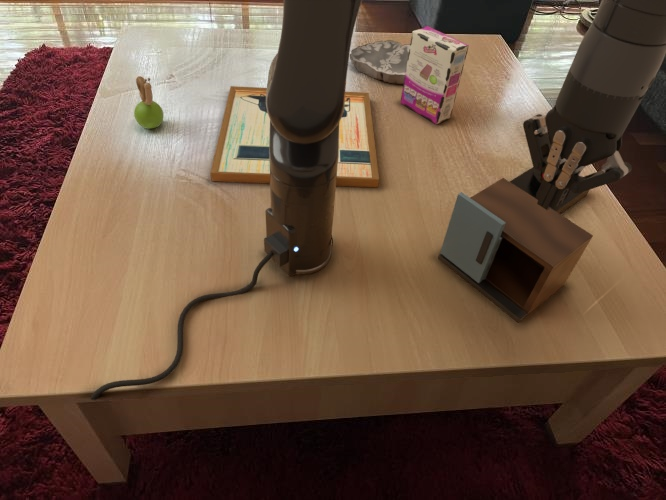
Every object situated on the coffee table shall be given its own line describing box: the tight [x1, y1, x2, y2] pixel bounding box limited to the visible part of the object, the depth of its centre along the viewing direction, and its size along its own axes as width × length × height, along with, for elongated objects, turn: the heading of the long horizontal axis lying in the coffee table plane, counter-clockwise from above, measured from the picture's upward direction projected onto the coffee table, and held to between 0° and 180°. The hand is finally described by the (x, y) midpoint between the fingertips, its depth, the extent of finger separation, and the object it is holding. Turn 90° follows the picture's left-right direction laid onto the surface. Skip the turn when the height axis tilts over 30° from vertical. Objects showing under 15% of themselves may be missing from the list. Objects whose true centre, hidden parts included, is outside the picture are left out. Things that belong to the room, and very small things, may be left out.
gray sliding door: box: [439, 191, 506, 283], centre depth 78 cm, size 1×8×12 cm, turn 40°
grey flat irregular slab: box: [349, 39, 410, 85], centre depth 127 cm, size 20×17×3 cm
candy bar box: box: [399, 25, 470, 125], centre depth 110 cm, size 11×5×16 cm, turn 42°
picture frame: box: [209, 85, 380, 188], centre depth 105 cm, size 30×2×30 cm
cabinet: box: [437, 177, 594, 323], centre depth 80 cm, size 12×16×11 cm
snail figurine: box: [133, 75, 164, 130], centre depth 101 cm, size 5×6×12 cm
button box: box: [509, 167, 590, 215], centre depth 97 cm, size 12×10×4 cm
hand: (546, 204), depth 65 cm, fingers closed
